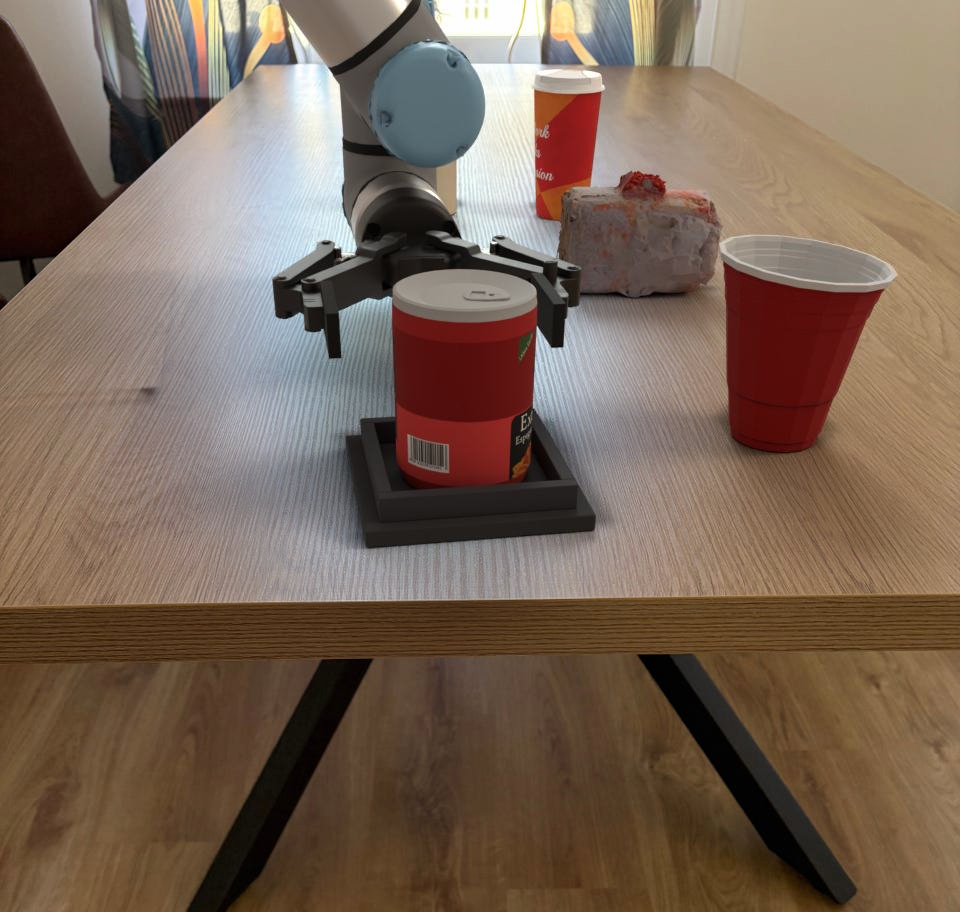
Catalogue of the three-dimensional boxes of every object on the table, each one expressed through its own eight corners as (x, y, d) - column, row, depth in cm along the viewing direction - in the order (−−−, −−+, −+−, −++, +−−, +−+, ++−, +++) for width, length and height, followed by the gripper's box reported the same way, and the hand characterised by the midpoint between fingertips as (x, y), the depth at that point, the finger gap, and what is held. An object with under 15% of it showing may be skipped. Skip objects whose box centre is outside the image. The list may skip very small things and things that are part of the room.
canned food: (541, 496, 65) (551, 307, 58) (403, 505, 63) (398, 313, 57) (516, 442, 71) (522, 265, 65) (390, 449, 70) (384, 270, 63)
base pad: (366, 548, 61) (364, 507, 60) (346, 449, 72) (344, 413, 71) (595, 530, 63) (598, 490, 62) (543, 437, 74) (545, 401, 73)
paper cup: (532, 203, 127) (538, 66, 119) (599, 208, 126) (609, 70, 118) (520, 220, 121) (525, 77, 113) (591, 225, 120) (601, 80, 112)
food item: (695, 274, 105) (708, 162, 100) (717, 300, 99) (733, 182, 93) (551, 275, 104) (557, 162, 99) (564, 302, 98) (571, 182, 92)
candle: (437, 220, 121) (437, 119, 115) (396, 212, 123) (394, 113, 117) (466, 210, 124) (466, 112, 119) (425, 203, 127) (424, 106, 121)
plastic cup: (885, 468, 71) (931, 276, 64) (717, 472, 70) (745, 278, 63) (827, 402, 80) (862, 228, 73) (678, 404, 79) (699, 228, 72)
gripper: (563, 281, 88) (642, 380, 71) (242, 294, 84) (242, 401, 67) (569, 181, 84) (654, 260, 67) (231, 189, 80) (228, 275, 63)
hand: (448, 331), depth 67 cm, fingers open, 13 cm apart
